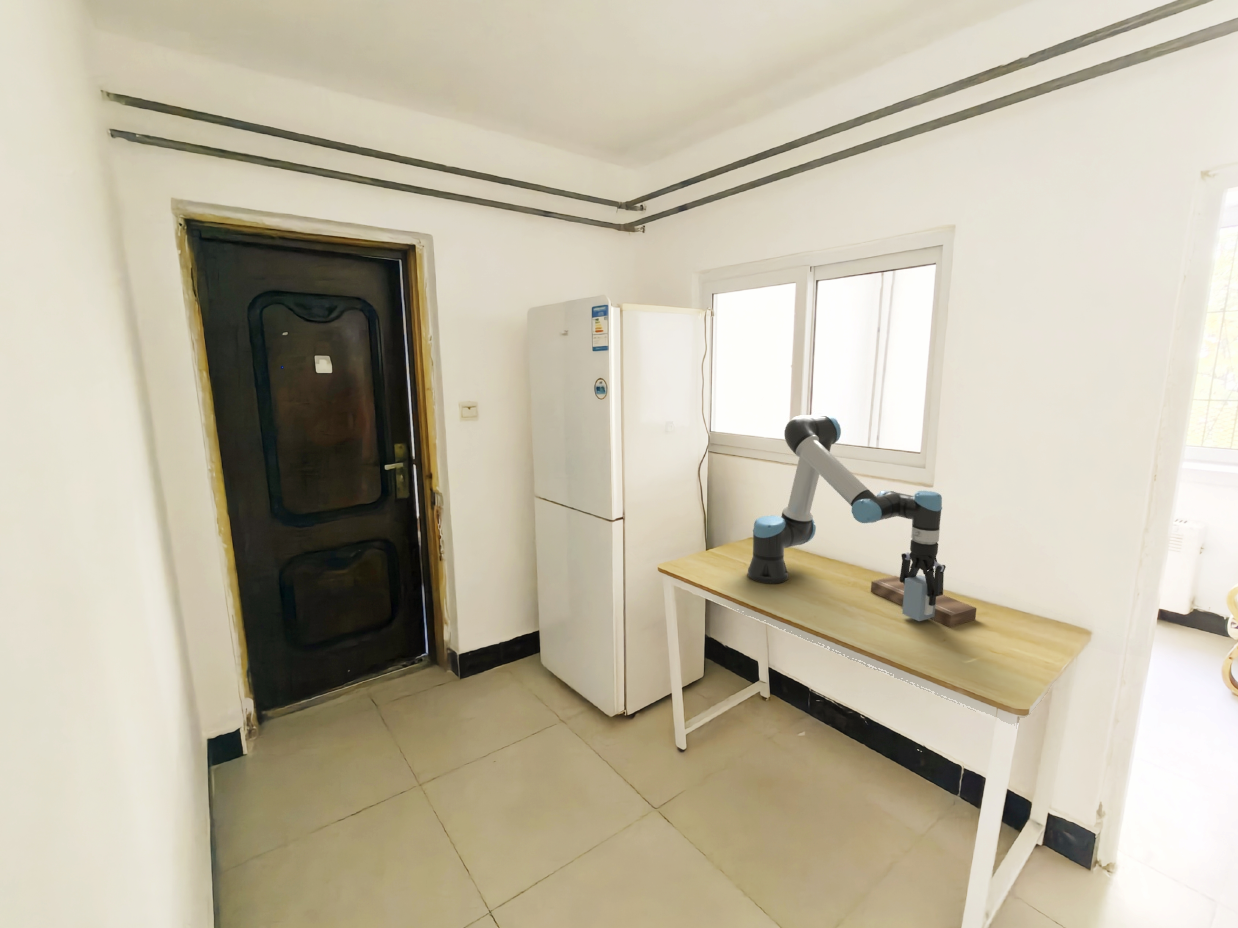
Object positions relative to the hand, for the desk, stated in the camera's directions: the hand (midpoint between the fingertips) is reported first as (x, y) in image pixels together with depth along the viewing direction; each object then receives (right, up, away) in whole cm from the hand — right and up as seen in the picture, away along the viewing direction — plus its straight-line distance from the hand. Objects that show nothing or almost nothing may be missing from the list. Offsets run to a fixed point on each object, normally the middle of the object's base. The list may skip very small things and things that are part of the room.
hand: (918, 609), depth 170 cm
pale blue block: (+2, -2, +1) cm, 3 cm away
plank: (+7, -1, +11) cm, 13 cm away
